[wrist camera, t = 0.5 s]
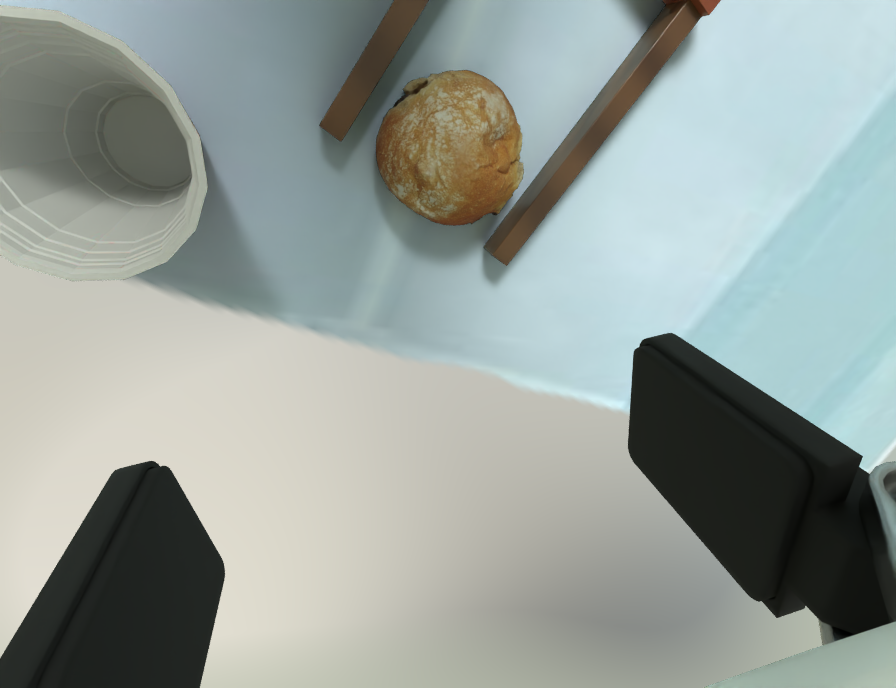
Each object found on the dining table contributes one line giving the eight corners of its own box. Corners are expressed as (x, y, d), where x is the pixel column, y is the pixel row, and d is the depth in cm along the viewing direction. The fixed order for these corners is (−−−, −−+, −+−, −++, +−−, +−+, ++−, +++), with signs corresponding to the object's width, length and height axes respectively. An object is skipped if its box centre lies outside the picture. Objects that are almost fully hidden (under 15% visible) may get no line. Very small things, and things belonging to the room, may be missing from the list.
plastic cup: (276, 120, 31) (248, 129, 20) (202, 253, 33) (145, 322, 23) (93, -8, 26) (-64, -82, 15) (25, 160, 29) (-148, 192, 18)
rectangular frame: (539, -242, 26) (564, -283, 23) (698, -4, 33) (731, -14, 30) (319, 124, 31) (318, 126, 28) (496, 257, 39) (509, 269, 36)
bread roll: (453, 62, 34) (441, 4, 27) (550, 160, 35) (567, 131, 27) (367, 165, 36) (332, 139, 29) (460, 256, 37) (452, 255, 29)
